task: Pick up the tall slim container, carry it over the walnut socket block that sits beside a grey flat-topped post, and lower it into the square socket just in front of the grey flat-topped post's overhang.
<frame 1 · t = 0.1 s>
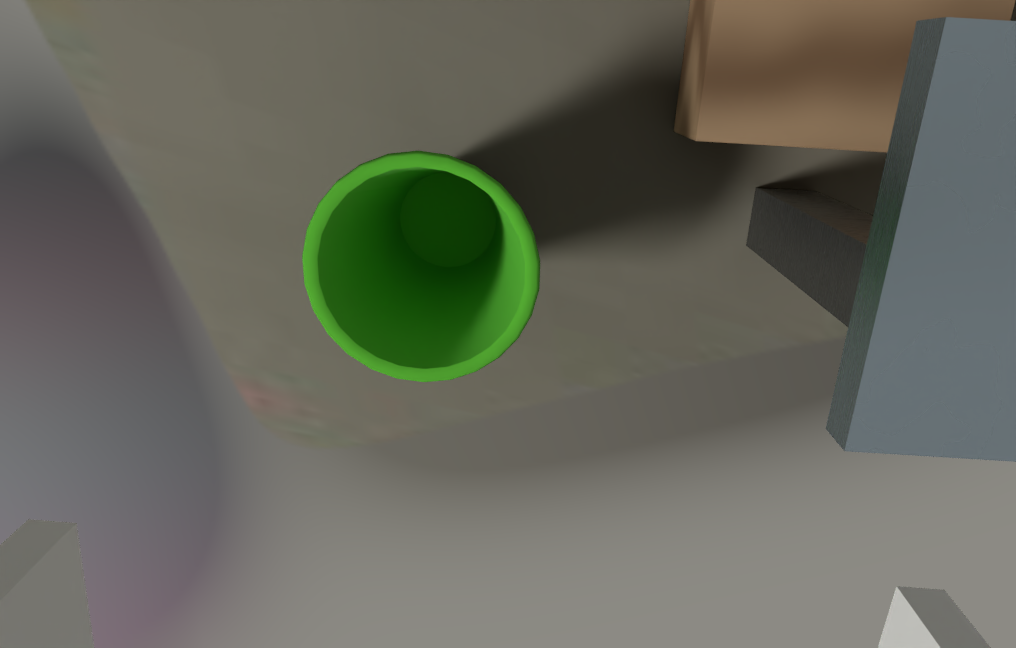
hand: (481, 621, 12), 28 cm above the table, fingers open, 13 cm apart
grey flat-topped post: (780, 218, 38), on the table
cup: (449, 217, 38), on the table
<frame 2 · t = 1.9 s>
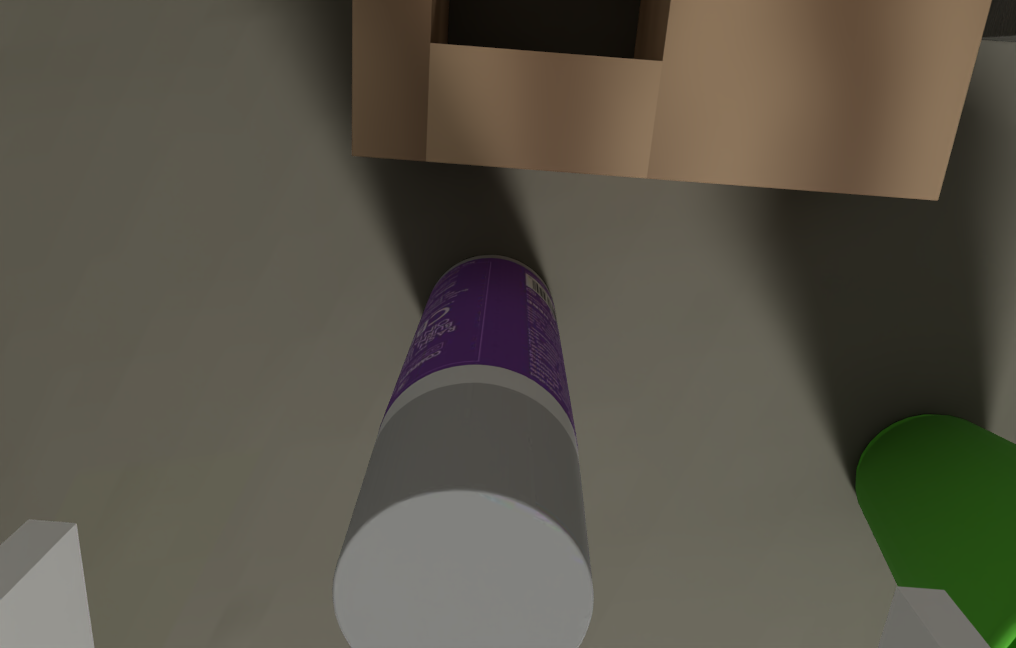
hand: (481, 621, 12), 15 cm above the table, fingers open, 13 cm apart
container: (491, 315, 27), on the table
cup: (916, 467, 29), on the table
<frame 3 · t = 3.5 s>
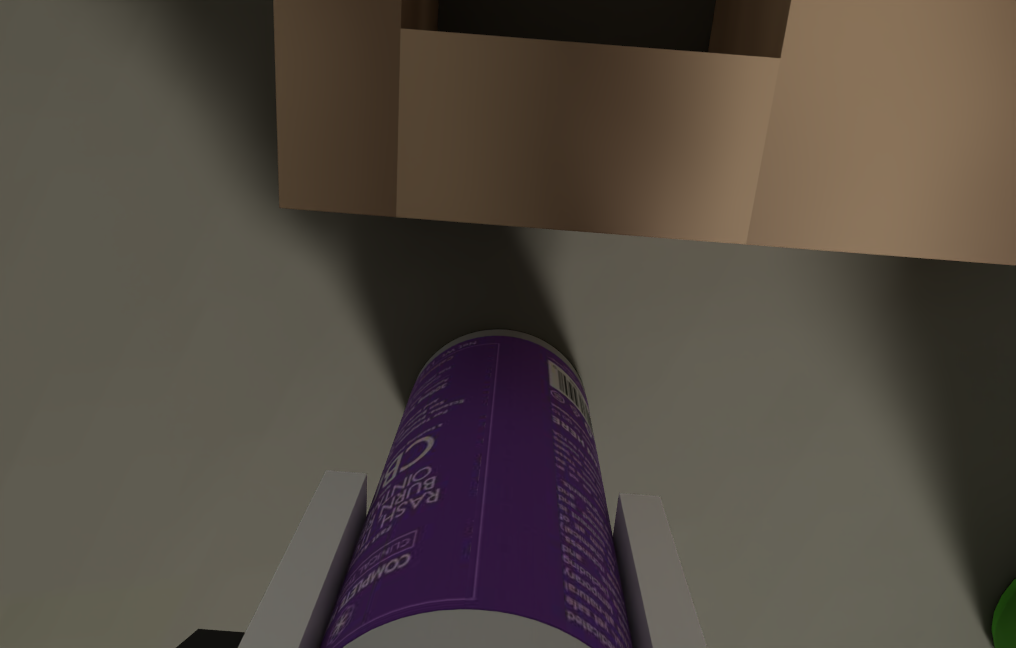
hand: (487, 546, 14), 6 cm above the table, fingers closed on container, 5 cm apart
container: (499, 408, 19), on the table, touching gripper
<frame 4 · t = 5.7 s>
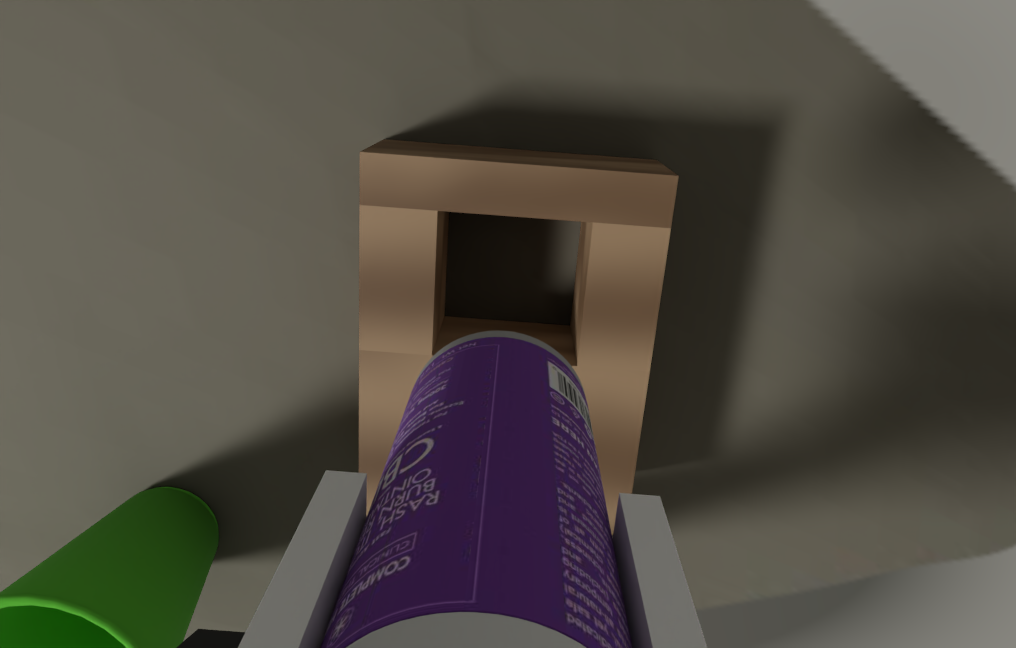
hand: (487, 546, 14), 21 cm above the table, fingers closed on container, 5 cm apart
container: (498, 409, 19), point 15 cm above the table, touching gripper
socket block: (507, 320, 35), on the table
cup: (175, 523, 39), on the table
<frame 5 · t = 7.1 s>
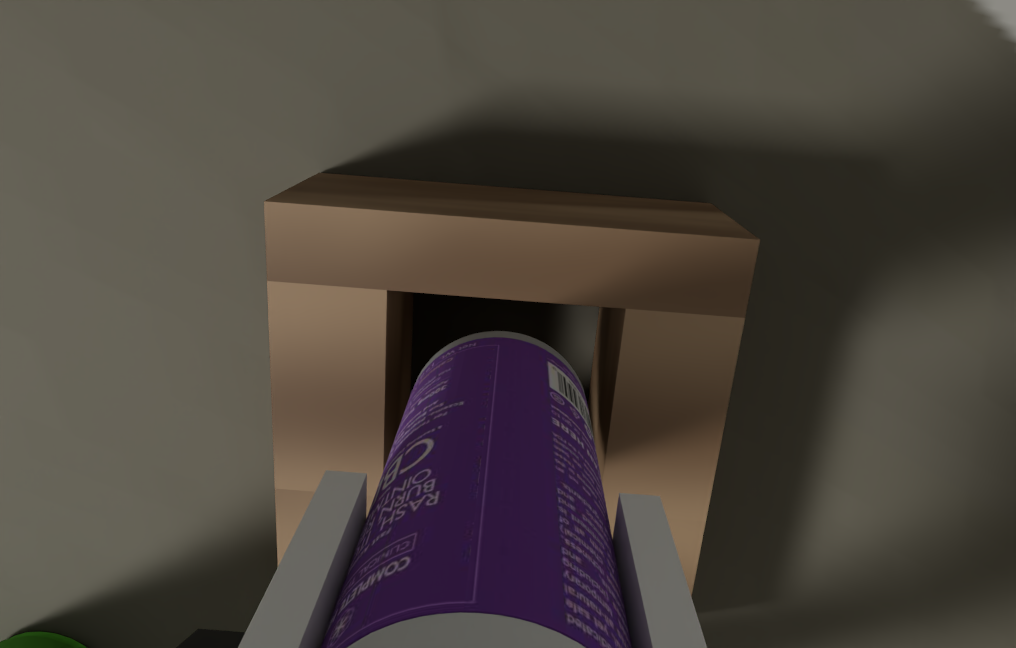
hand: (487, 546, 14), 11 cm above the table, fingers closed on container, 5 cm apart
container: (498, 410, 19), point 5 cm above the table, touching gripper
socket block: (497, 422, 25), on the table
when the fingers open (7 cm above the table, at t = 8.0 s): container drops 1 cm, resting in socket block.
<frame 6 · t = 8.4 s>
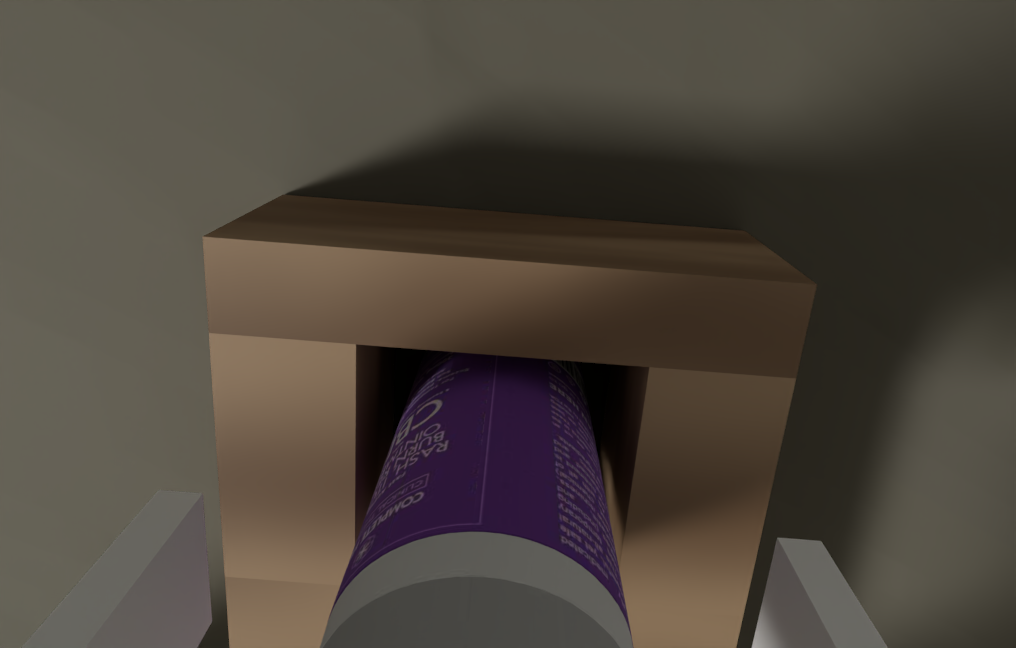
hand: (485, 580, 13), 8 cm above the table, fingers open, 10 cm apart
container: (500, 383, 21), resting in socket block
socket block: (493, 481, 22), on the table
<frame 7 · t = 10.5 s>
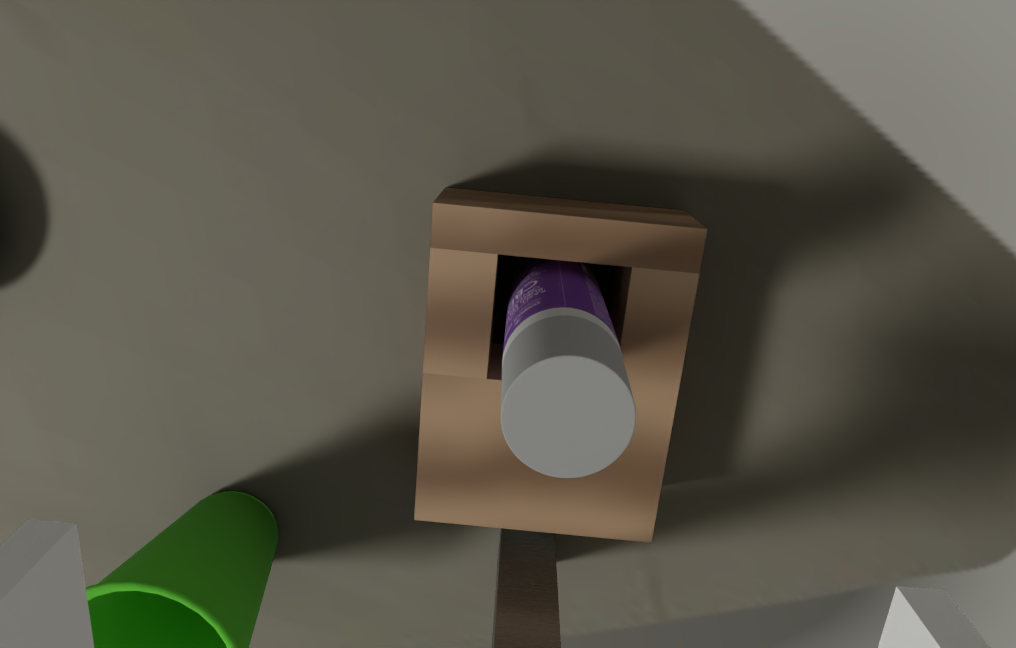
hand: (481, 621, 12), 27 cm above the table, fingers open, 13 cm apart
grey flat-topped post: (525, 540, 43), on the table
container: (553, 292, 38), resting in socket block
socket block: (547, 348, 39), on the table
cup: (238, 525, 43), on the table
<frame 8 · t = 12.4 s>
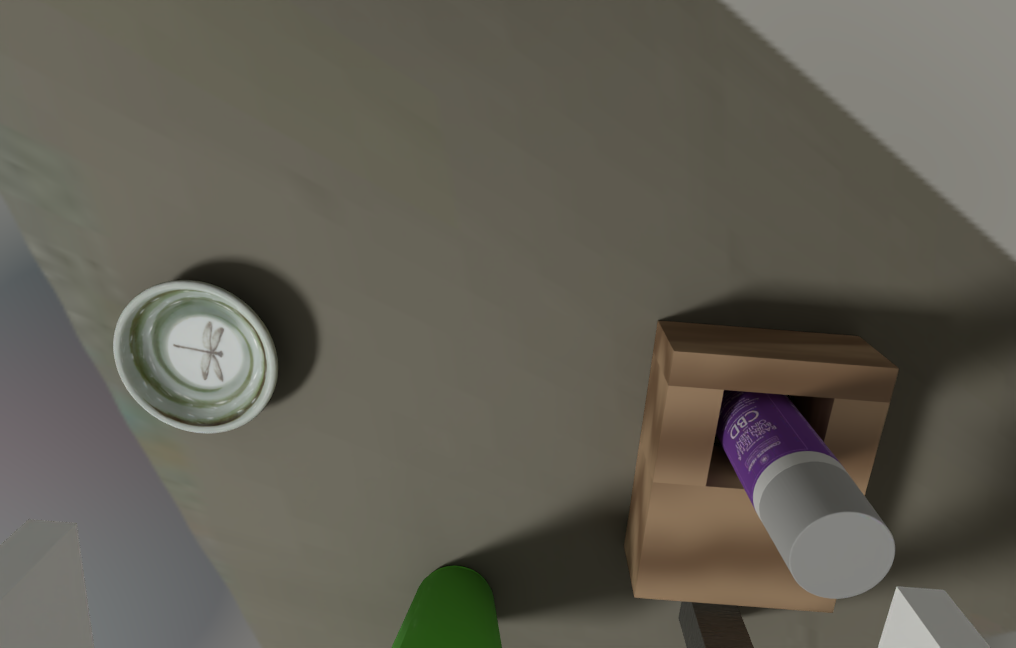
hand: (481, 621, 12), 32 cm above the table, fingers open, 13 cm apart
grey flat-topped post: (703, 602, 50), on the table
container: (742, 402, 45), resting in socket block
socket block: (734, 447, 46), on the table
saucer: (212, 345, 45), on the table
cup: (456, 592, 51), on the table
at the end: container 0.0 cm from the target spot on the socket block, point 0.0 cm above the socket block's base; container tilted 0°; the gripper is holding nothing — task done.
